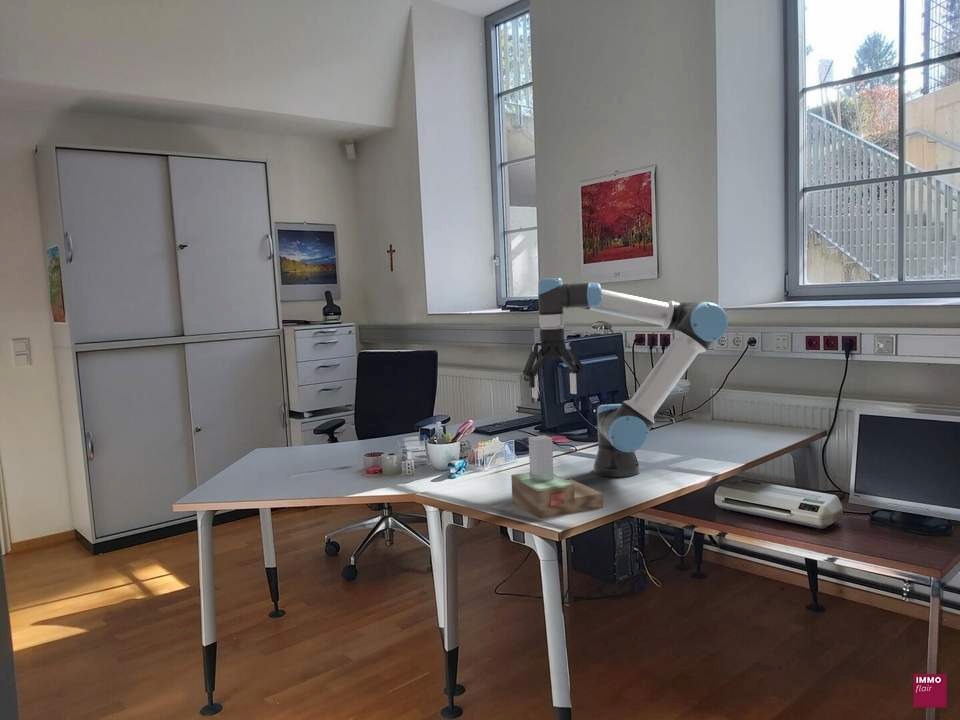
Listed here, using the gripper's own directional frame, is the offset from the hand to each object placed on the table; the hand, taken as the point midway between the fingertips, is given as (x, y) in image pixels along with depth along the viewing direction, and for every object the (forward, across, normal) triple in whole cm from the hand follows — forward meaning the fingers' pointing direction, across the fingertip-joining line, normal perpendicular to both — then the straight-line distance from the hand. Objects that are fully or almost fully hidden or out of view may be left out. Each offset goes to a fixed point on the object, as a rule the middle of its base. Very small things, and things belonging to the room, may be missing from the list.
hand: (554, 395), depth 228 cm
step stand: (+28, +10, +18) cm, 36 cm away
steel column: (+20, +15, +18) cm, 31 cm away
